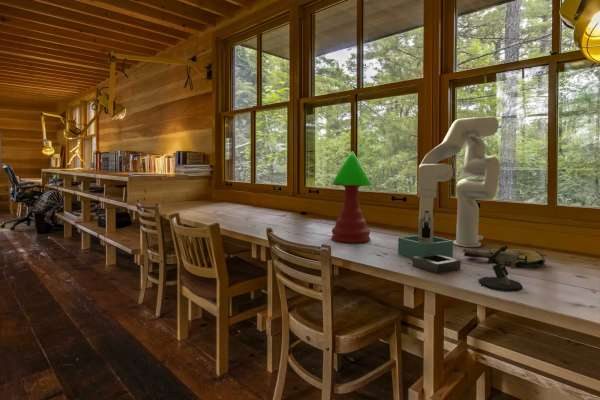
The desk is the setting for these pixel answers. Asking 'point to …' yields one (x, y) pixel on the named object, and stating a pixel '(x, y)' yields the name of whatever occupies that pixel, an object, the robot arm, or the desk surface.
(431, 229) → the energy drink can
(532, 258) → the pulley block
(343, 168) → the table lamp
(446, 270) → the steel collar
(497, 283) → the gun turret
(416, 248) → the teal bin
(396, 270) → the desk surface
